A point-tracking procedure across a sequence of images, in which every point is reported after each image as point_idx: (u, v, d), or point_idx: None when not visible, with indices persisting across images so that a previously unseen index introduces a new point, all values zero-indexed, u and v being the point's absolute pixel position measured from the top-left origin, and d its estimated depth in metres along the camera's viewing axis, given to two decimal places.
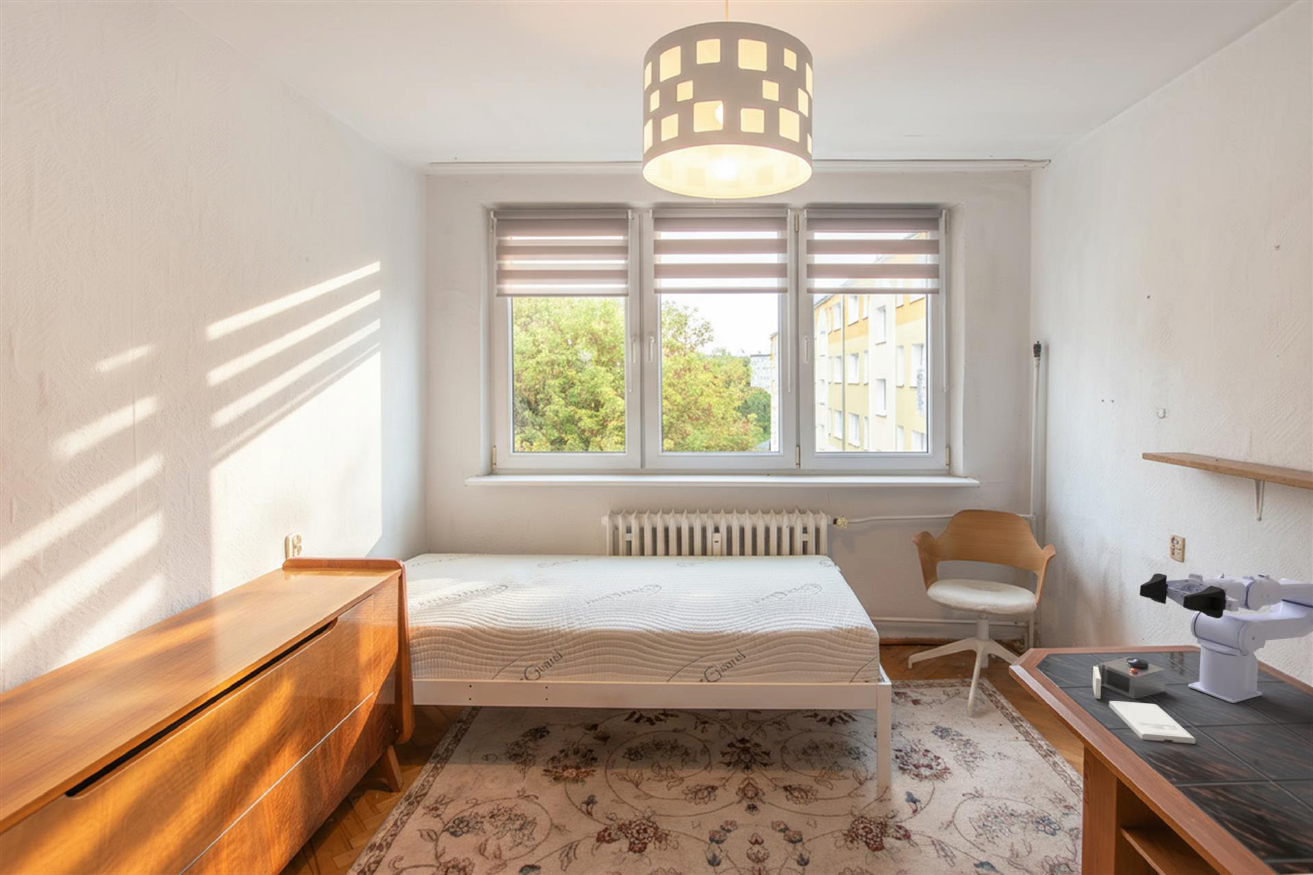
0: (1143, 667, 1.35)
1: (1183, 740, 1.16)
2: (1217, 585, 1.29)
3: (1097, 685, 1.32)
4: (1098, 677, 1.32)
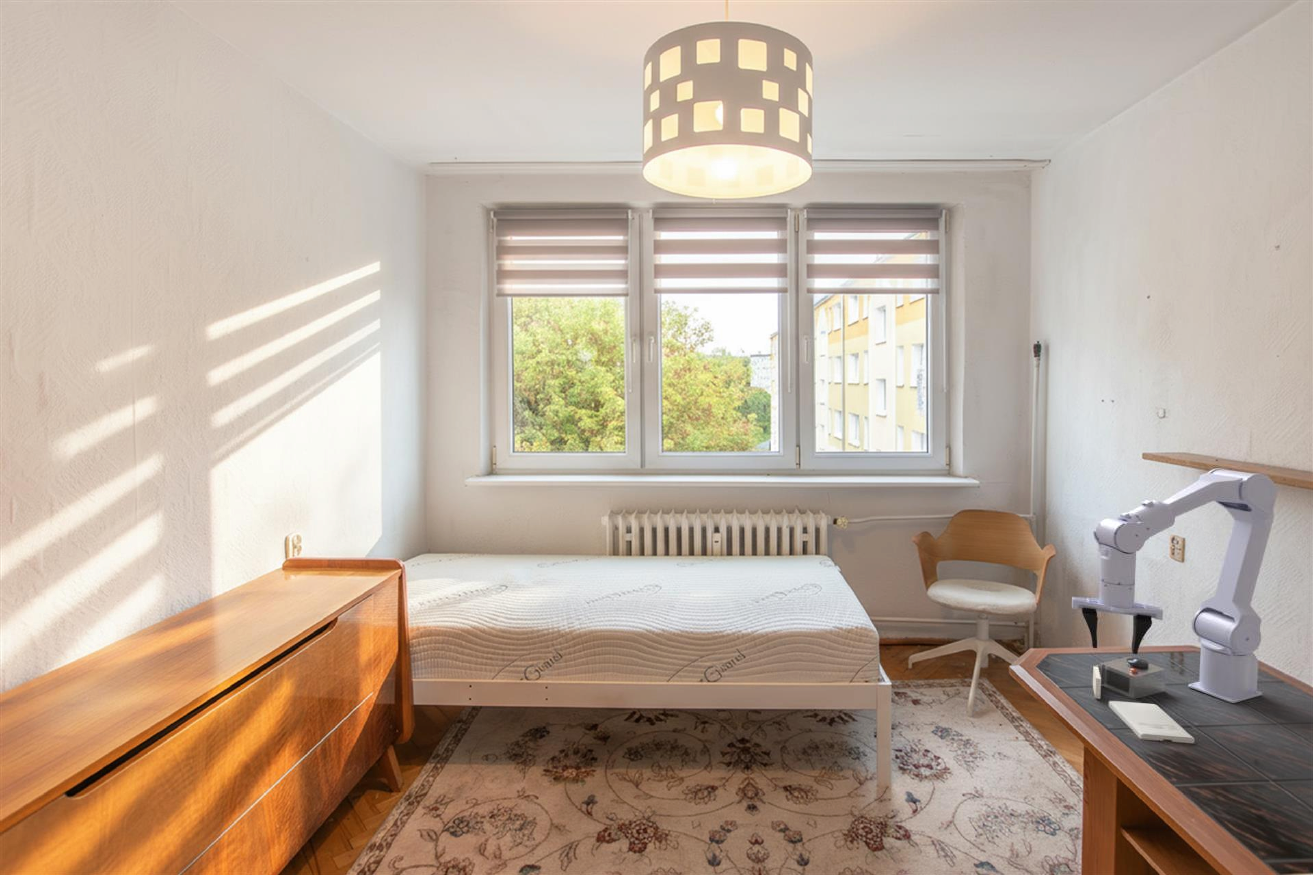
0: (1143, 667, 1.35)
1: (1182, 740, 1.16)
2: (1129, 591, 1.29)
3: (1097, 685, 1.32)
4: (1098, 677, 1.32)
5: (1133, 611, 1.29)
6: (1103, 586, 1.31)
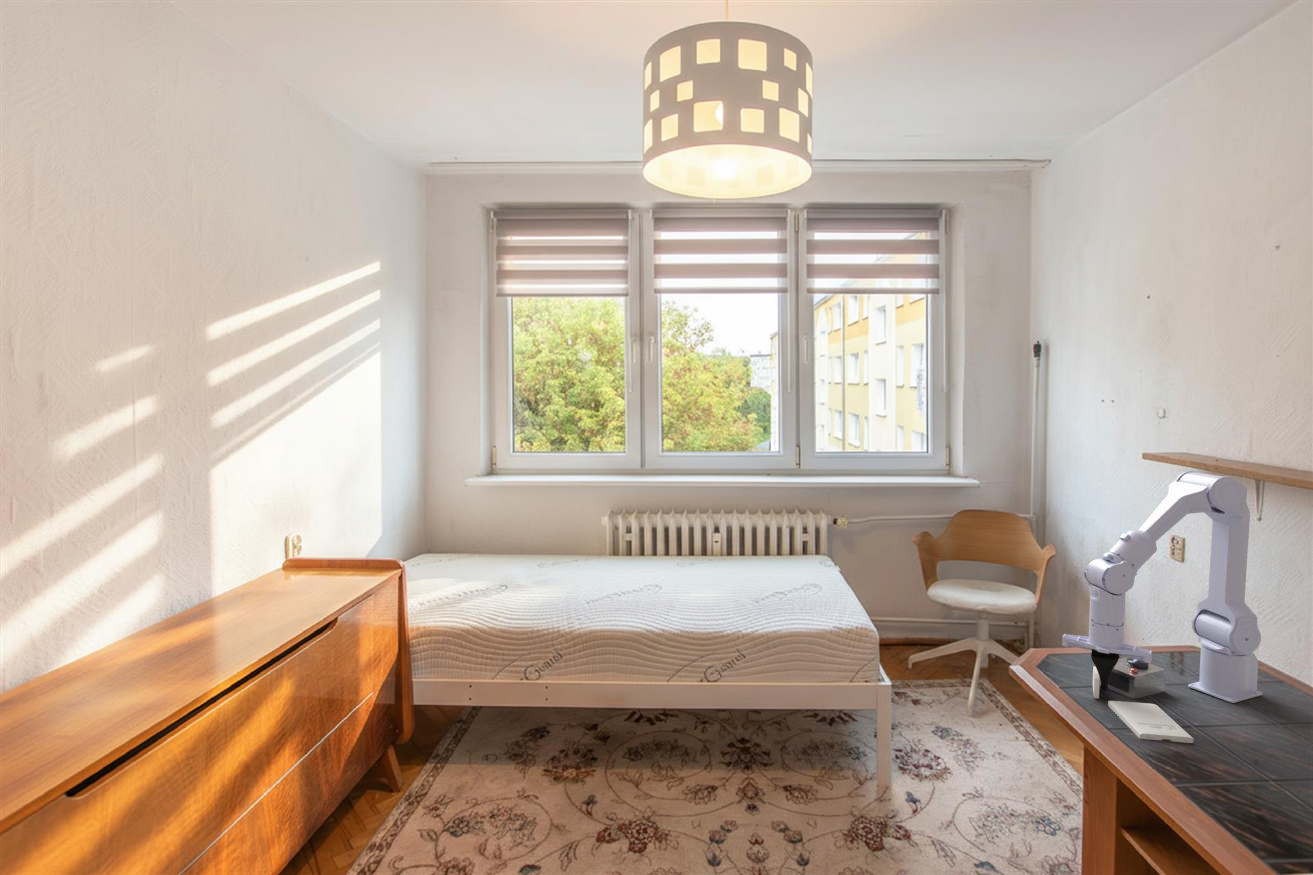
0: (1143, 667, 1.35)
1: (1181, 740, 1.16)
2: (1116, 632, 1.30)
3: (1096, 685, 1.32)
4: (1097, 677, 1.32)
5: (1119, 652, 1.29)
6: (1091, 625, 1.33)
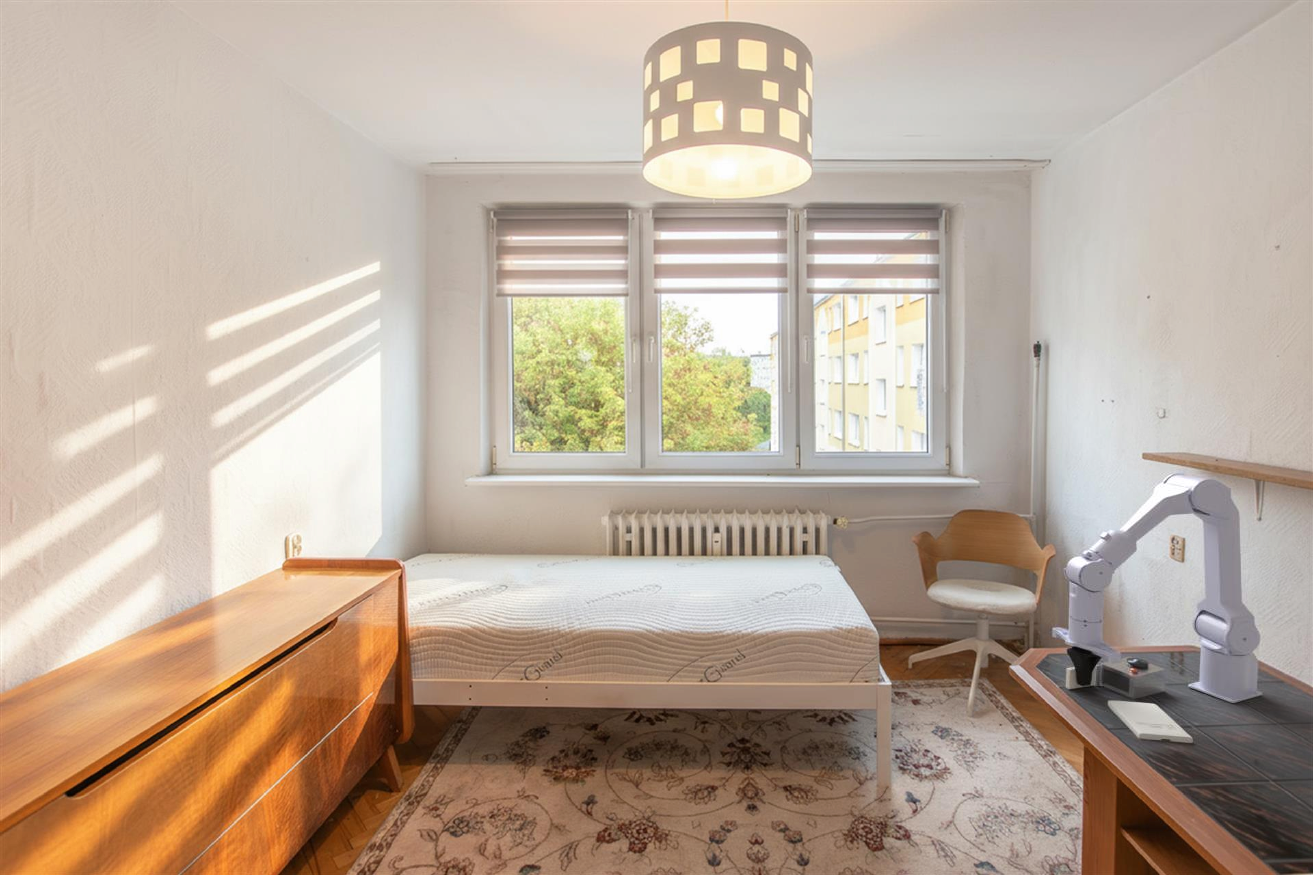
0: (1143, 667, 1.35)
1: (1180, 739, 1.16)
2: (1084, 628, 1.33)
3: (1067, 675, 1.36)
4: (1070, 668, 1.36)
5: (1085, 648, 1.32)
6: None
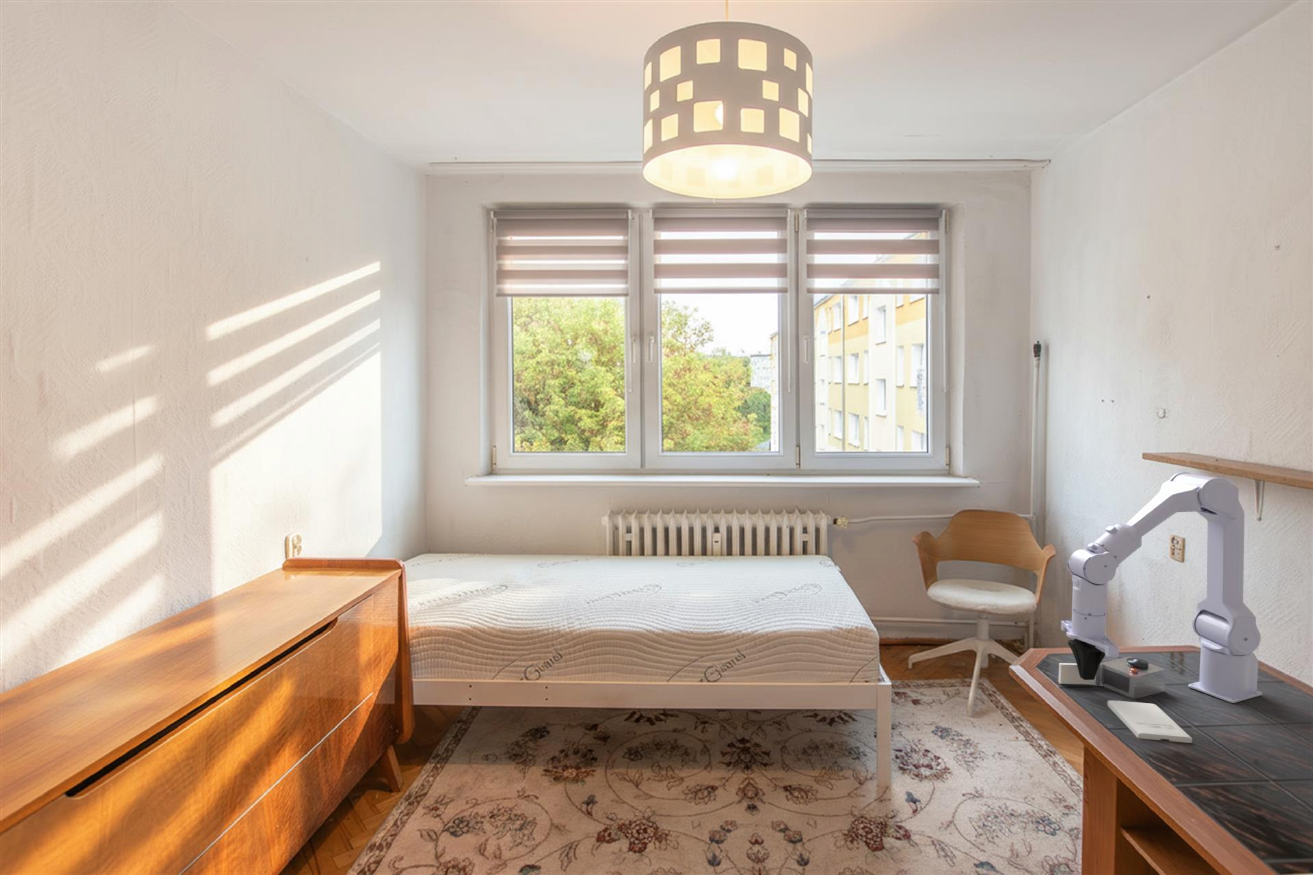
0: (1143, 667, 1.35)
1: (1180, 739, 1.16)
2: (1084, 620, 1.32)
3: (1059, 670, 1.39)
4: (1063, 663, 1.38)
5: (1085, 640, 1.31)
6: None
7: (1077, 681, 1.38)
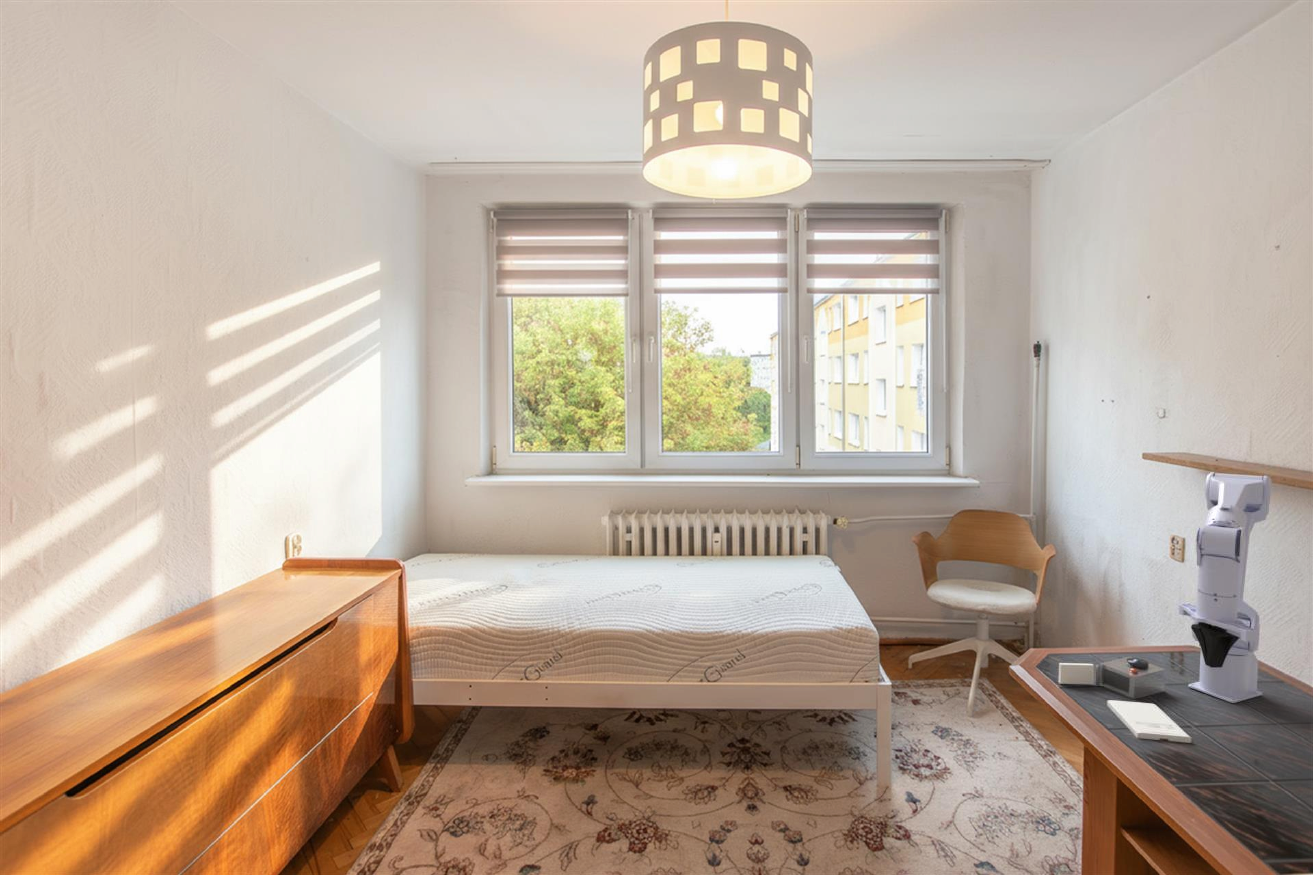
0: (1143, 667, 1.35)
1: (1179, 739, 1.16)
2: (1213, 602, 1.20)
3: (1059, 670, 1.39)
4: (1062, 663, 1.38)
5: (1215, 624, 1.20)
6: None
7: (1077, 681, 1.38)
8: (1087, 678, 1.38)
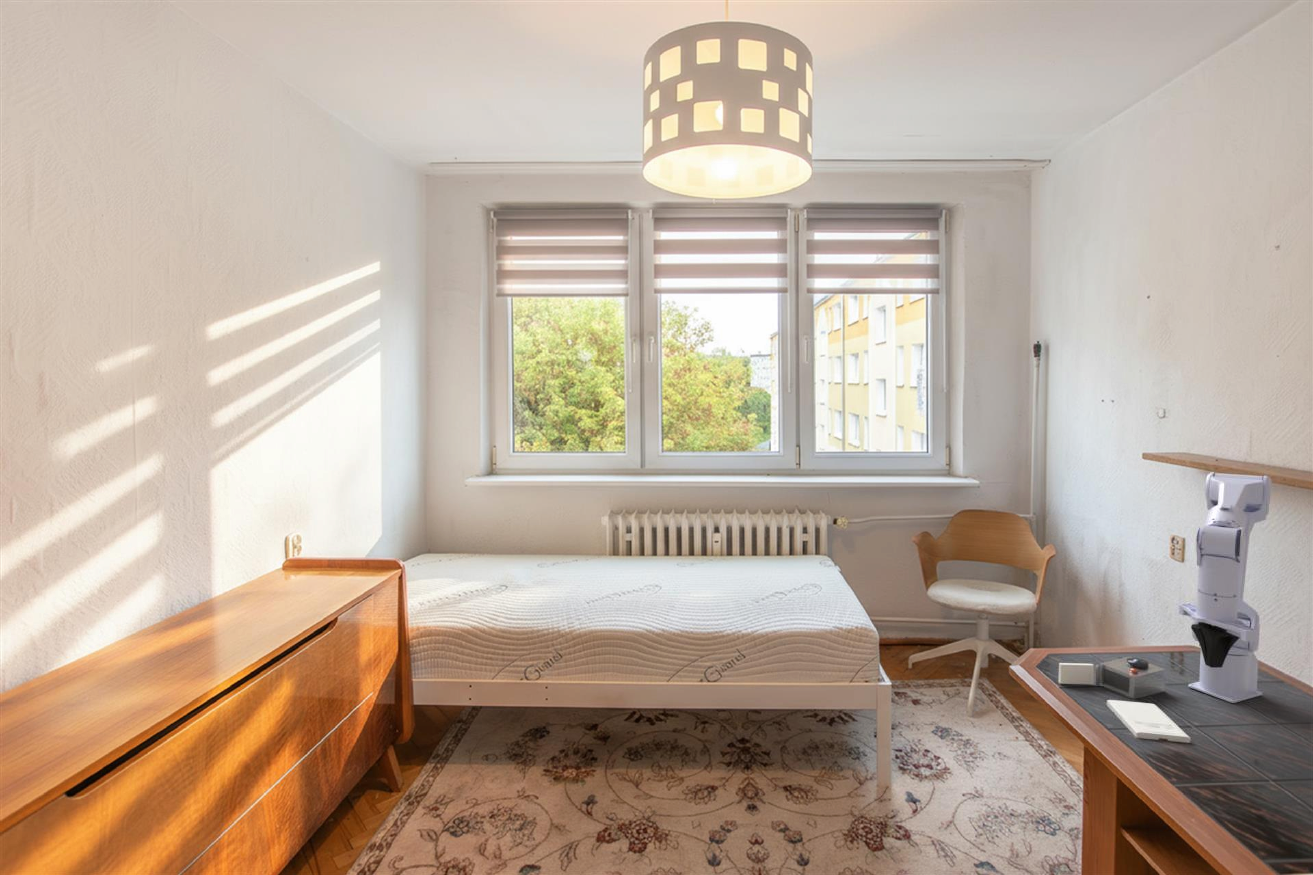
0: (1143, 667, 1.35)
1: (1178, 739, 1.16)
2: (1213, 602, 1.20)
3: (1059, 670, 1.39)
4: (1062, 663, 1.38)
5: (1215, 624, 1.20)
6: None
7: (1077, 681, 1.38)
8: (1087, 678, 1.38)
